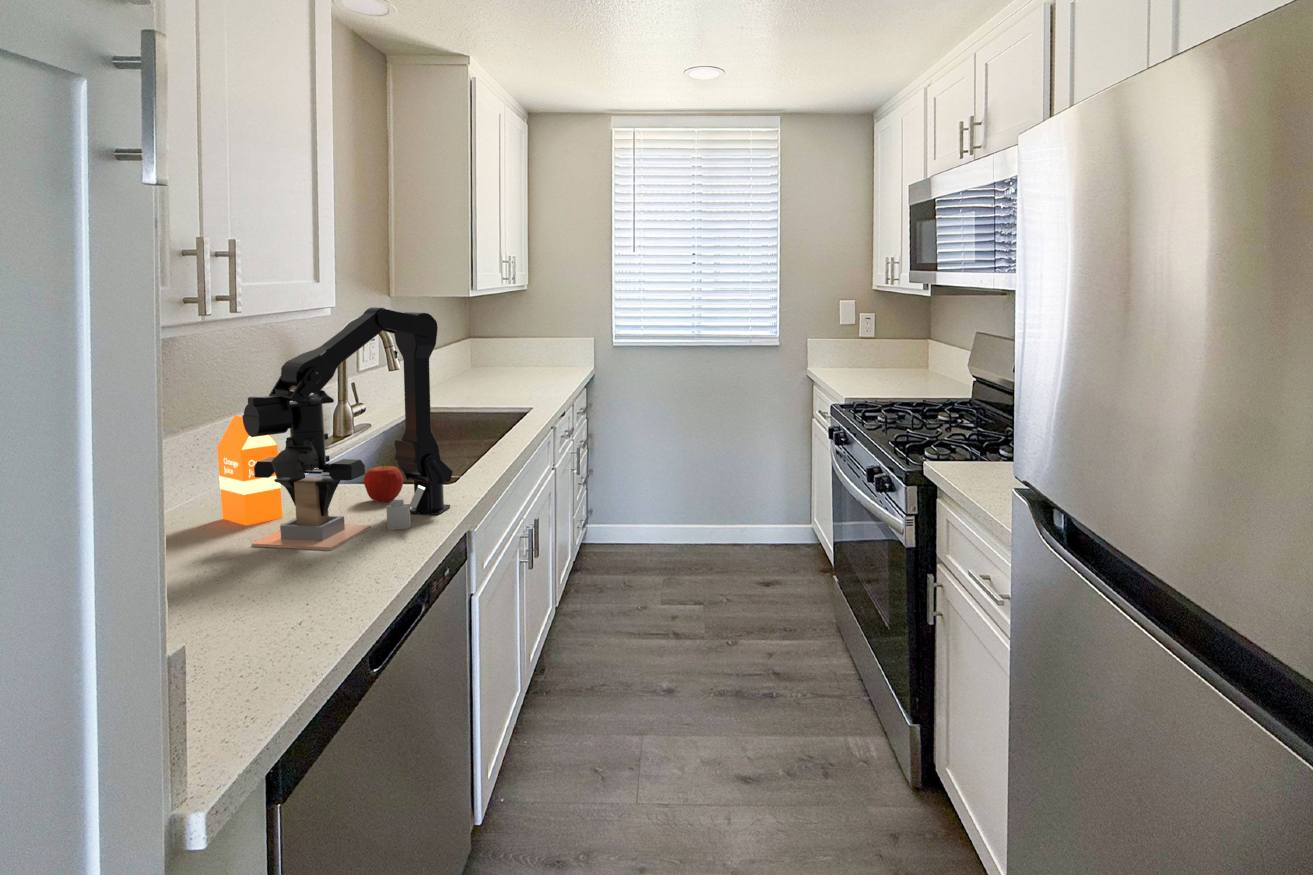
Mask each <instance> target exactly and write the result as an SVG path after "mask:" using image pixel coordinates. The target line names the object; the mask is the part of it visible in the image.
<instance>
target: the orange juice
mask: <svg viewBox="0 0 1313 875" xmlns="http://www.w3.org/2000/svg"><path fill="white" fill-rule="evenodd" d="M278 446H279V444H278V443H277V442H276V441H275V440H274V439H273V437H272V435H266V436H258V437H251V436H249V435H248V434H247V432H246V431H245V428H244V425H243V418H242V416H239V415H233V416H232V418H231V421H230V422H229V425H228V426H227V428H226V430H225V432H224V433H223V436H221V439H220V441H219V442H218V444H217V445H216V448H217V450H216V452H217V460H218V461H217V462H218V475H219V476H218V478H219V489H220V499H221V502H220V503H221V512H222V520H226V521H230V522H232V523H237V524H239V525H244V526H250V525H255V524H259V523H265V522H268V521H273V520H277V519H278V520H279V519H282V518H283V504H282V490H281V489H282V487H281V486H282V485H281V484H280V483H277V482H275V481H274V479H276V475H275V472H274V474H273V475H272V476H271V477H269V478H258V477H254V466H255V464H256V462H257V461H260V460H263V459H266V458H269V457H276V456H277V455H278V454H279V447H278Z"/></svg>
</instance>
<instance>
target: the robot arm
mask: <svg viewBox="0 0 1313 875" xmlns="http://www.w3.org/2000/svg"><path fill="white" fill-rule="evenodd" d="M438 328H439V327H438V322H437V319H435V318H434V316H432V315H431V314H430V313H428V312H415V311H414V312H409V311H408V312H407V311H406V312H401V311H395V310H392V309H388V308H386V307H376V306H375V307H373V306H372V307H368V308H367V309H366V310H365V311H364V312H363V314H361V315H360V316H358V318H356V319H354V321H352V322H351V323H350V324H348V325H347V326H346V327H344V328H343V329H341V330H340V331H339V332H337V333H336V334H335V335H334V336H333V337H331V338H330V339H328V340H327V341H326V342H324V343H323V344H322V345H320V346H318V347H317V348H314V349H312V350H308V351H306V352H303V353H301V354H298V355H297V356H294V357H293V358H291V359H289V360H287V361H285V362H284V364H283V365H282V366H281V368H280V371H281V372H280V376H279V378H278V379H277V381H276V383H275V384H274V386H273V388H272V390H271V391H270V392H269V394H268V396H249V397H247V404H246V405H245V407H244V410H243V415H242V416H241V417H242V418H243V425H244V428H245V431H246V432H247V434H248V435H249V436H251V437H258V436H266V435H270V436H272V435H278V434H279V435H280V434H285V433H287V432H288V430H289V437H286V440H285V448H284V449H283V450H281V451H280V452H278V455H277V456H276V457H269V458H266V459H263V460H260V461H257V462H256V464H255V466H254V477H258V478H269V477H271V476H272V475H273V474H274V472H275V475H276V479H274V481H275V482H277V483H280V484H281V486H283V487H284V488H285V489H286V491H287V493H288V495H289V497H290V498H291V500H292V502H293V504H294V506H295V508H296V505H295V491H294V482H296V481H299V480H301V479H304V478H306V474H314V475H315V474H316V475H321V478H322V479H320V480H318V481H316V484H317V486H318V487H319V497H320V511H321V516H325V515H326V513H327V510H328V511H329V508H330V505H331V502H332V499H333V497H334V495H335V492H336V490H337V489H338V486H339V485H340V482H341V481H353V480H355V479H357V478H359V477H362V476H365V474H366V465H365V464H364V462H363V461H362V460H361V459H358V458H357V459H355V458H354V459H353V458H351V459H350V458H349V459H348V458H347V459H346V458H343V459H340V460H338V461H335V462H332V463H328V462H330V455H326V442H325V441H326V440H328V439H329V433H327V432H325V425H324V424H325V423H324V408H323V407H324V406H323V405H324V404H333V403H335V400H334V398H333V397H332V396H330V395H328V394H327V392H326V391H325V390H324V387H325V386H326V385H327V384H328V383H329V382H330V380H332V378H333V377H334V375H335V373H336V371H337V369H338V367H339V366H340V365H341V364H342V363H344V362H345V361H346V360H347V359H349V358H350V357H351V356H353V355H354V354H355V353H356V352H357V351H359V350H360V349H361V348H363V347H364V346H366V345H367V344H368V343H369V342H370V341H371V340H373V339H374V338H376V337H377V336H378V335H379V334H380V333H382V332H386V333H390V334H393V335H394V339H395V344H396V347H397V349H398V350H399V353H400V355H401V356H402V359H403V386H404V387H403V388H404V389H403V390H404V420H405V421H404V422H405V423H404V424H405V430H404V432H403V435H402V437H401V439H396V440H395V441H394V448H395V456H394V461H396V462H397V466H398V467H399V468H398V469H401V470H400V471H403V474H404V476H405V480H408V481H409V480H410V481H413V491H414V492H413V493H414V494H415V492H416V490H417V487H418V485H421V486H423V487H425V490H424V492H423V494H422V496H421V498H420V501H419V503H418V505H417V507H416V509H415V508H413V507H411V508H410V514H420V515H421V514H423V515H429V514H430V515H440V514H441V513H443V512H445V511H446V510H448V509H450V507H451V504H445V501H444V500H445V498H444V484H446V483H449V482H451V480H452V476H453V470H452V469H451V468H450V467H449V466H448V465H446V464H445V462H443V460H442V459H441V452H440V447H439V444H438V441H437V439H436V437H435V435H434V434H433V431H432V422H431V421H432V420H431V418H432V416H431V414H432V413H431V382H430V380H431V379H430V376H431V374H430V358H431V355H432V353H433V351H434V349H435V347H436V345H437V337H438Z"/></svg>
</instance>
